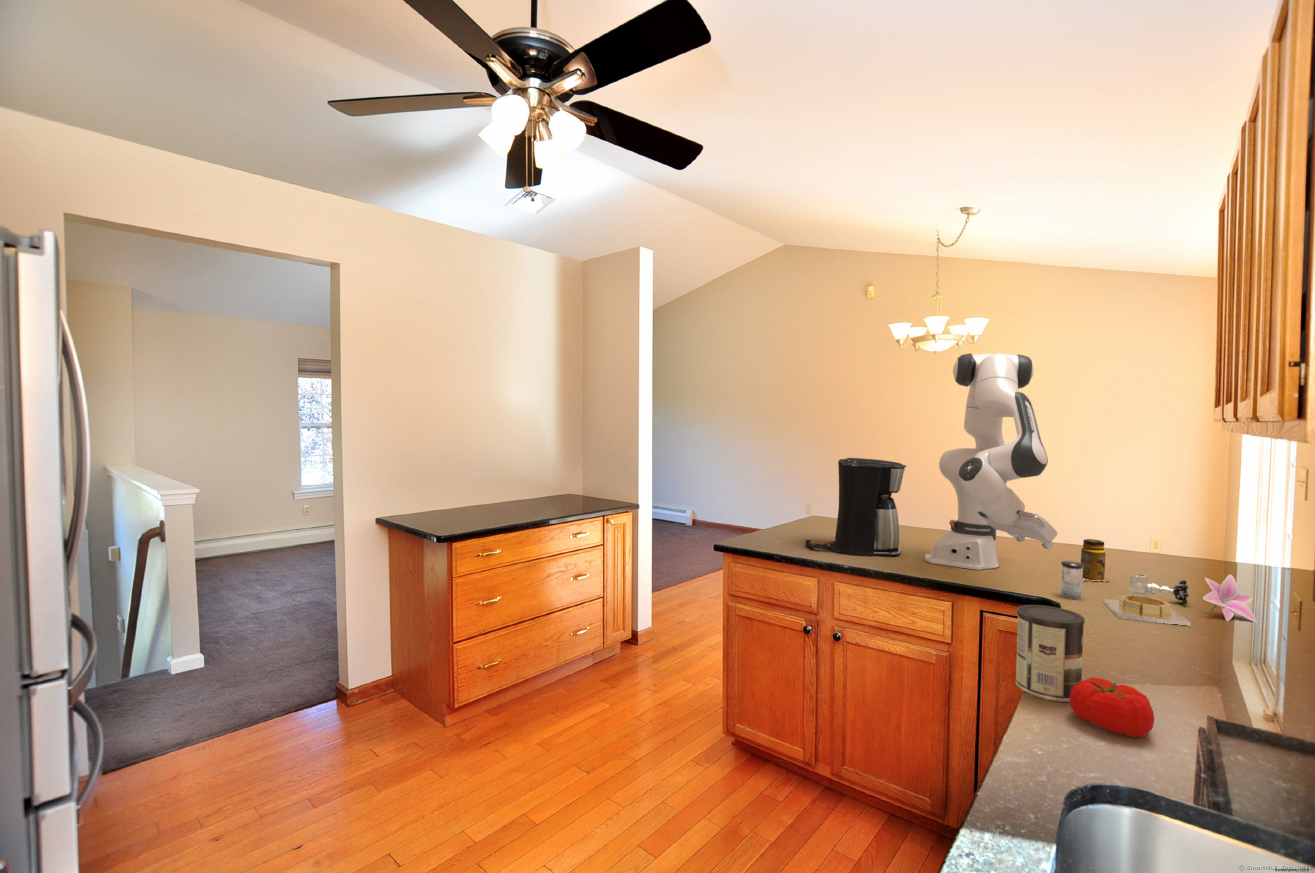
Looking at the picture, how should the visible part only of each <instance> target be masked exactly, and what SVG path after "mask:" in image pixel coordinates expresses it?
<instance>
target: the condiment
mask: <svg viewBox="0 0 1315 873" xmlns="http://www.w3.org/2000/svg"><path fill="white" fill-rule="evenodd" d="M1082 542H1083V545H1082V548H1081V553H1080V554H1081V556H1080V563H1082V564H1084V567H1083V578H1085V579H1089V580H1104V579H1105V572H1106V570H1105V569H1106V550H1105V542H1104V541H1102V540H1099V539H1094V538H1093V539H1092V538H1085V539H1083V540H1082Z"/></svg>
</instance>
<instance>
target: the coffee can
mask: <svg viewBox="0 0 1315 873" xmlns="http://www.w3.org/2000/svg"><path fill="white" fill-rule="evenodd" d="M1016 613H1017V630H1016V631H1017V633H1016V634H1017V636H1016V671H1015V672H1016V673H1015V684H1016V686H1017V688H1018V689H1020V690H1021V691H1023V692H1025V691H1026V692H1025V693H1026V694H1029V695H1031V696H1033V697H1036V698H1039V699H1043V700H1047V701H1051V702H1052V701H1053V702H1061V703H1070V700H1069V698H1070V694H1071V691H1072V689H1073V688H1074V686H1075V685H1076V684H1078V683H1080V682H1081V681H1083V678H1082V676H1083V649H1084V648H1083V647H1084V646H1083V645H1084V644H1083V643H1084V624H1085V620H1086V619H1085V617H1084V616H1083V615H1081V614H1079V613H1077V612H1075V611H1073V610H1070V609H1064V608H1061V607H1057V606H1051V605H1042V604H1024V605H1019V606H1018V607H1017V608H1016Z"/></svg>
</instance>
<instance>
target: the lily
mask: <svg viewBox="0 0 1315 873" xmlns="http://www.w3.org/2000/svg"><path fill="white" fill-rule="evenodd" d="M1204 580H1205V581H1206V583H1207V585H1208V586H1209V588H1210V590H1212V591H1210V592H1208V593H1206V594H1205V595H1204V596H1203V597H1202V600H1204V601H1206V602H1209V603H1212V604H1214V605H1213V606H1212V608H1211V609H1210V610H1209V611H1210V612H1213V610H1214V609H1215V608H1216V607H1217V606H1219V607H1220V608H1221V610H1222V613H1223V616H1224V619H1225V621H1226V622H1229V621H1230V620H1232V618H1233V617H1234V615H1235V613H1236V614H1237V615H1240V616H1242V617H1243V618H1246V619H1248V621H1249V620H1250V622H1251V621H1252V622H1254V623H1257V621H1258V620H1257V618H1256V616H1255V615H1254V613H1253V611H1252V609H1251V608H1250V607H1249V606H1248V605H1247V604H1248V603H1251V601H1252V600H1253V597H1251V596H1250V595H1246V594H1244V593H1241V592H1240V590H1239V589H1240V588H1239V587H1238V583H1237V581H1236V579H1235V578H1234V576H1233V575H1232V574H1228V575H1227V576H1226V577H1225V579H1224V580H1223V581H1222V582H1221V584H1219V583H1218V582H1216V581H1214V580H1212V579H1210V578H1208V577H1204Z"/></svg>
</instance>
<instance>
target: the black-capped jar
mask: <svg viewBox="0 0 1315 873" xmlns="http://www.w3.org/2000/svg"><path fill="white" fill-rule="evenodd" d="M1060 565H1061V580H1060V581H1061V582H1060V597H1063V598H1065V599H1068V600H1082V599H1083V597H1082V596H1083V581H1082V579H1083V567H1084V564H1082V563H1081V562H1078V561H1071V560H1061V561H1060Z"/></svg>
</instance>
